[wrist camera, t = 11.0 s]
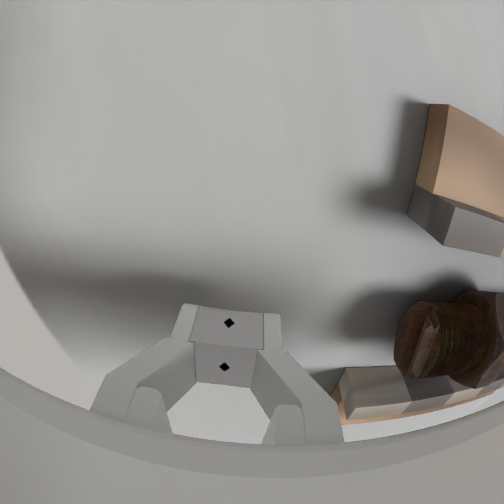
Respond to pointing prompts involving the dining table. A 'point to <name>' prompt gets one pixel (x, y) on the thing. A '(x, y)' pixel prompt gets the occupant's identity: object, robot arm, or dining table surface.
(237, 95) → the dining table surface
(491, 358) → the bolt
